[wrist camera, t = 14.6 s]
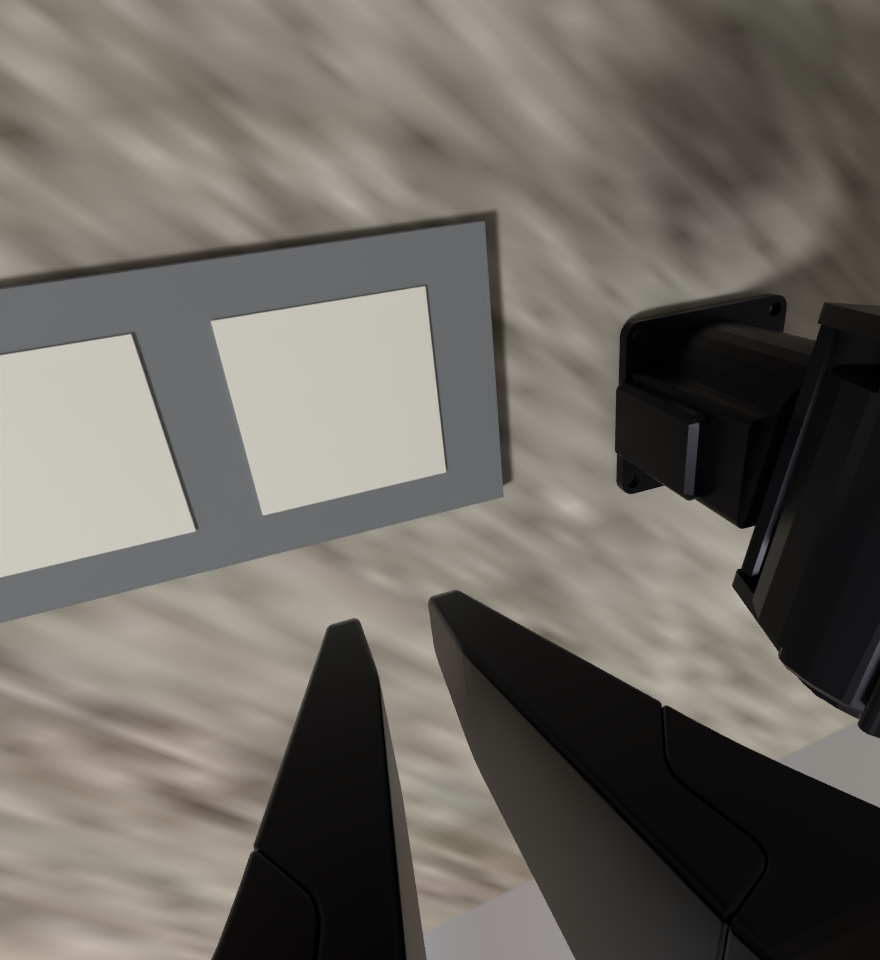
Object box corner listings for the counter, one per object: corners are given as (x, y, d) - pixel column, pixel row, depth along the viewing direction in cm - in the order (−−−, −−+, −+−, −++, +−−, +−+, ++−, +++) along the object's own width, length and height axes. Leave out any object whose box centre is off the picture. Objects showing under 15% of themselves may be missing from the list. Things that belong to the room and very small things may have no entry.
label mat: (477, 220, 18) (486, 221, 18) (497, 489, 22) (504, 498, 22) (-257, 323, 14) (-279, 329, 14) (-72, 630, 18) (-82, 645, 18)
